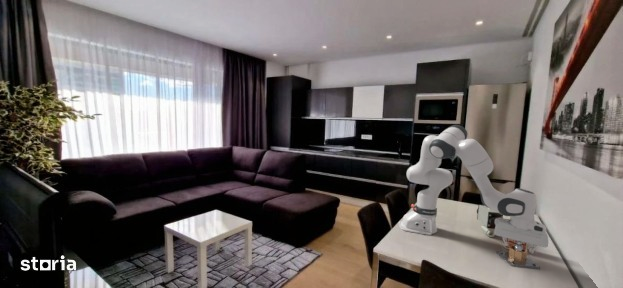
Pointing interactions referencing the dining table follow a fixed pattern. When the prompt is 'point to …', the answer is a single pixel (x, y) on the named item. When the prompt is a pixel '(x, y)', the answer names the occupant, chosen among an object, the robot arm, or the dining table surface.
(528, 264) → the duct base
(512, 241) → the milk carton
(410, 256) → the dining table surface
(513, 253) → the wooden faceted bowl
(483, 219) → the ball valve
